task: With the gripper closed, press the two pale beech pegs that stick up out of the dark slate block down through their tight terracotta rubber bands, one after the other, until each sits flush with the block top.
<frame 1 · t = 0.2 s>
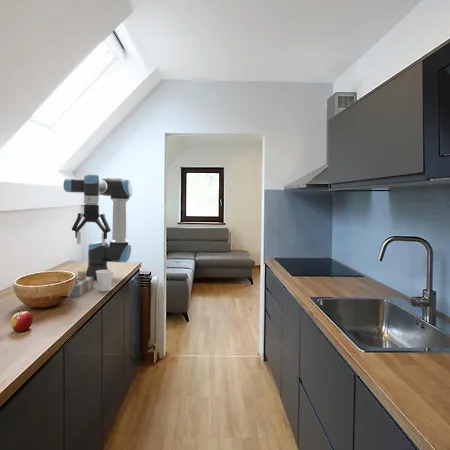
hand: (91, 244, 212), 27 cm above the worktop, tool pointing down, fingers open, 13 cm apart
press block: (77, 291, 223), on the worktop
peg 2: (81, 276, 228), point 7 cm above the worktop, slide at 4.0 cm
cup: (104, 290, 227), on the worktop
peg 1: (73, 280, 216), point 7 cm above the worktop, slide at 4.0 cm
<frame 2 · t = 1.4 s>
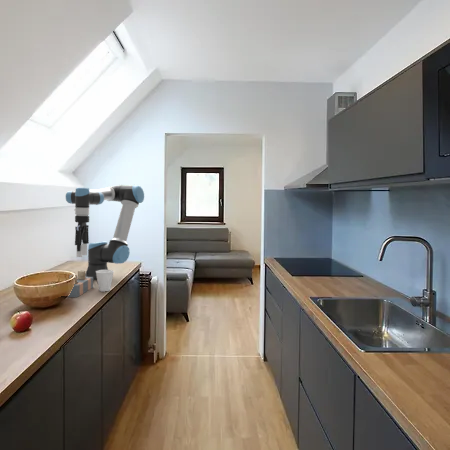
hand: (81, 255, 227), 19 cm above the worktop, tool pointing down, fingers open, 7 cm apart
nothing on the worktop moved.
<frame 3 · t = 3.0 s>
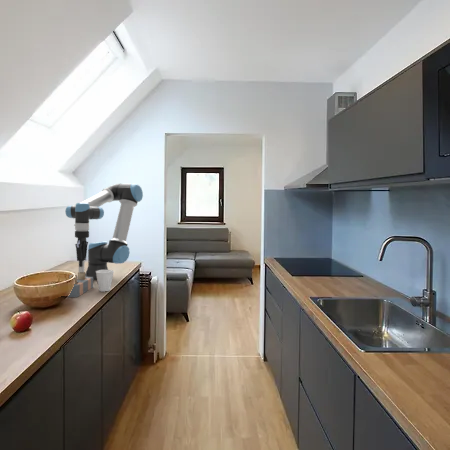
hand: (81, 272, 228), 10 cm above the worktop, tool pointing down, fingers closed
peg 2: (81, 277, 228), point 7 cm above the worktop, slide at 3.4 cm, touching gripper
everything else where it was.
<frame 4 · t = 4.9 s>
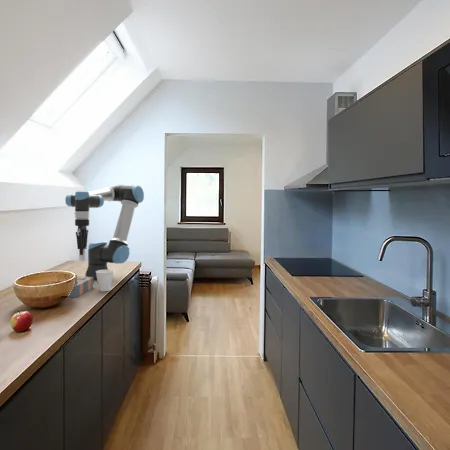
hand: (82, 260, 228), 16 cm above the worktop, tool pointing down, fingers closed
peg 2: (81, 283, 229), point 3 cm above the worktop, slide at 0.0 cm
everything else where it was.
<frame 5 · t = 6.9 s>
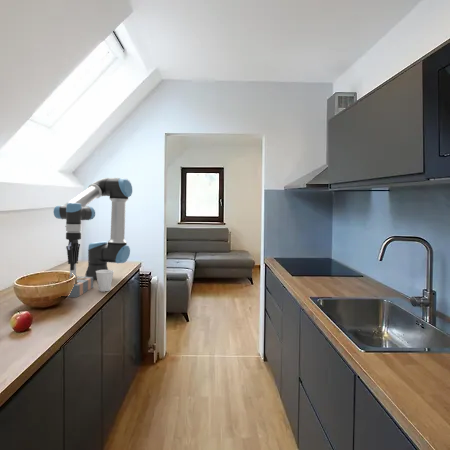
hand: (73, 275, 216), 10 cm above the worktop, tool pointing down, fingers closed
peg 1: (73, 281, 216), point 7 cm above the worktop, slide at 3.5 cm, touching gripper
everything else where it was.
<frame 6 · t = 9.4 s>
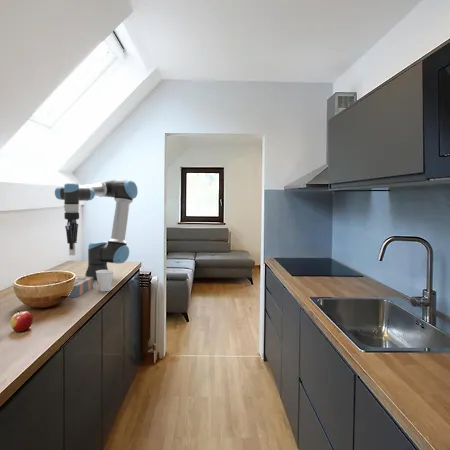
hand: (72, 255, 220), 20 cm above the worktop, tool pointing down, fingers closed
peg 1: (73, 288, 217), point 3 cm above the worktop, slide at 0.0 cm
everything else where it was.
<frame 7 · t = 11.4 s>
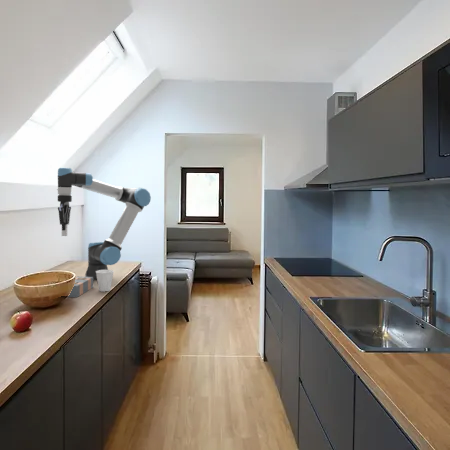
hand: (64, 235, 233), 29 cm above the worktop, tool pointing down, fingers closed
nothing on the worktop moved.
at the end: peg 2 slide at 0.0 cm; peg 1 slide at 0.0 cm; cup moved 0.2 cm from its start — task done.
